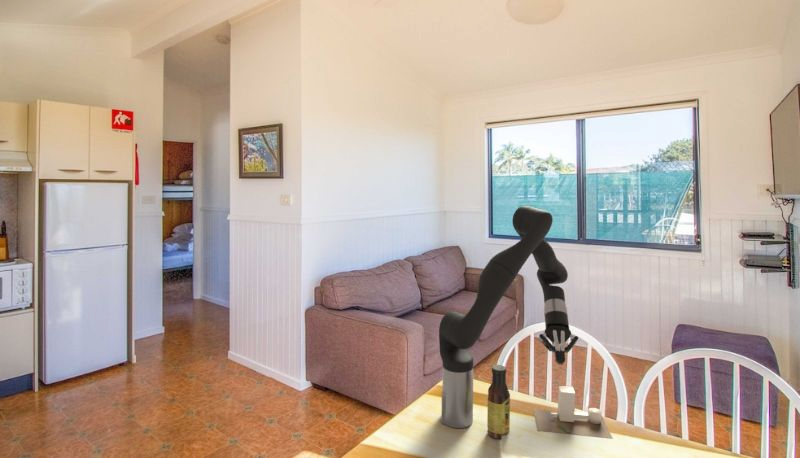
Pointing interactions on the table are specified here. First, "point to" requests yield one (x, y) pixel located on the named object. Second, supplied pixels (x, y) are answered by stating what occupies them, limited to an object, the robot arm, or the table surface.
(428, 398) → the table surface
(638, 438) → the table surface
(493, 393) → the sauce bottle
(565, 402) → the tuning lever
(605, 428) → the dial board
